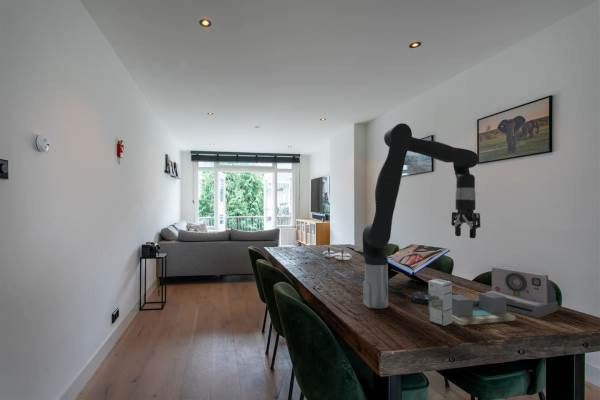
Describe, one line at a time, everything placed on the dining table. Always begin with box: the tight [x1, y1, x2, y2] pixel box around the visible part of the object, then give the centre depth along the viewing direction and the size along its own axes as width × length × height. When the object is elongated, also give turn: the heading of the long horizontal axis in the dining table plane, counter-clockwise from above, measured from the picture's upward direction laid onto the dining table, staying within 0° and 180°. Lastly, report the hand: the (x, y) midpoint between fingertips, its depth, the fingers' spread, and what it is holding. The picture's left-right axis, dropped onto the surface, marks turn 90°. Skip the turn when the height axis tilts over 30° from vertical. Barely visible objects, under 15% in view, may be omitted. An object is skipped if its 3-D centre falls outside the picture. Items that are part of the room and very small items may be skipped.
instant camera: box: [486, 266, 559, 319], centre depth 128 cm, size 21×21×15 cm
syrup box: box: [428, 278, 453, 327], centre depth 112 cm, size 6×6×14 cm
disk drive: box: [409, 291, 429, 306], centre depth 136 cm, size 10×3×15 cm
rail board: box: [452, 292, 516, 326], centre depth 117 cm, size 22×12×8 cm, turn 101°
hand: (465, 237), depth 135 cm, fingers open, 8 cm apart
